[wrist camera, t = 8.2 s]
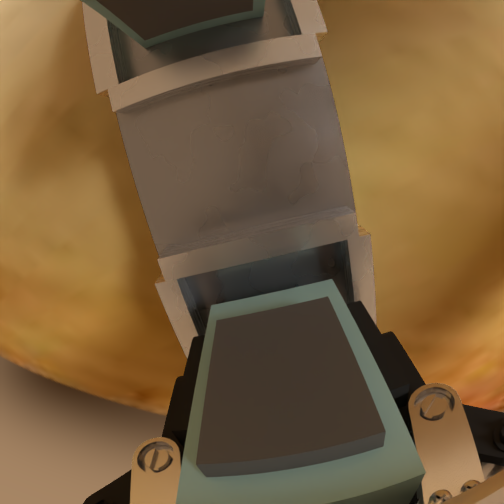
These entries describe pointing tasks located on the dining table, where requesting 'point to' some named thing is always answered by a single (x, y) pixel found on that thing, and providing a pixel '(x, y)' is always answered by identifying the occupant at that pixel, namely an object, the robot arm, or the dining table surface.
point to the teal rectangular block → (172, 16)
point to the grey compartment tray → (236, 160)
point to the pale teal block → (293, 409)
